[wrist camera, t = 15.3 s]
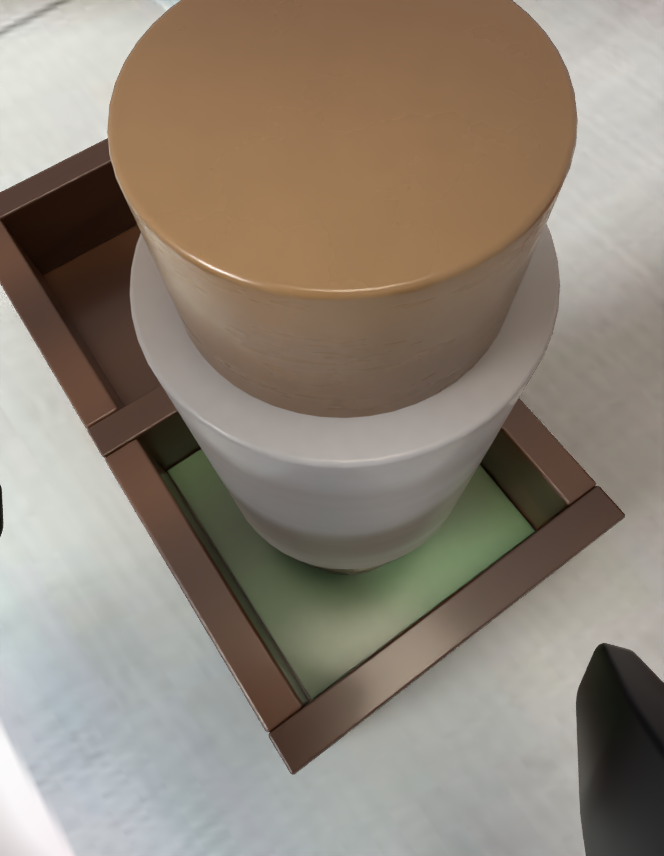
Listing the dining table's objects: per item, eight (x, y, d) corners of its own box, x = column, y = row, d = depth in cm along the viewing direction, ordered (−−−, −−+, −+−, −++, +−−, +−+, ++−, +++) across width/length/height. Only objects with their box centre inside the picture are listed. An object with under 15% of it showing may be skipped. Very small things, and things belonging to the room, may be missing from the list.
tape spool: (419, 619, 18) (618, 434, 5) (228, 568, 18) (-72, 281, 5) (456, 437, 20) (667, -51, 7) (283, 397, 20) (164, -118, 7)
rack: (579, 544, 19) (627, 515, 16) (302, 758, 17) (292, 776, 14) (244, 154, 25) (228, 75, 22) (12, 278, 23) (-43, 212, 20)
